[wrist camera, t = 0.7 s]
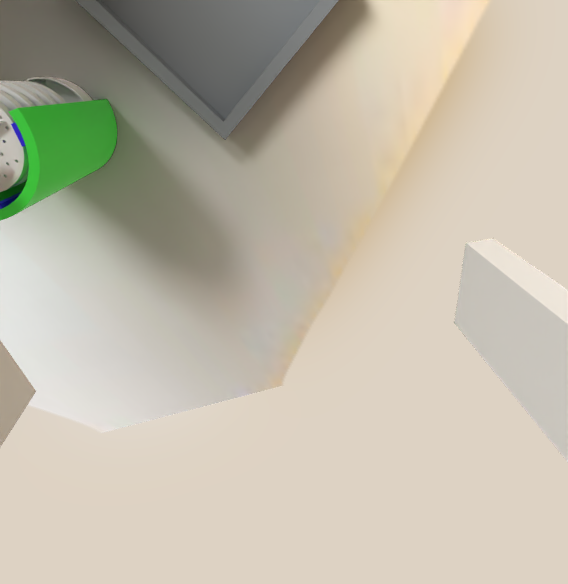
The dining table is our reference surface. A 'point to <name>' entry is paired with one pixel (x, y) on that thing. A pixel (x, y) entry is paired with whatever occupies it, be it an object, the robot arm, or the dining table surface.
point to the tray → (213, 46)
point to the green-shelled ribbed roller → (49, 139)
